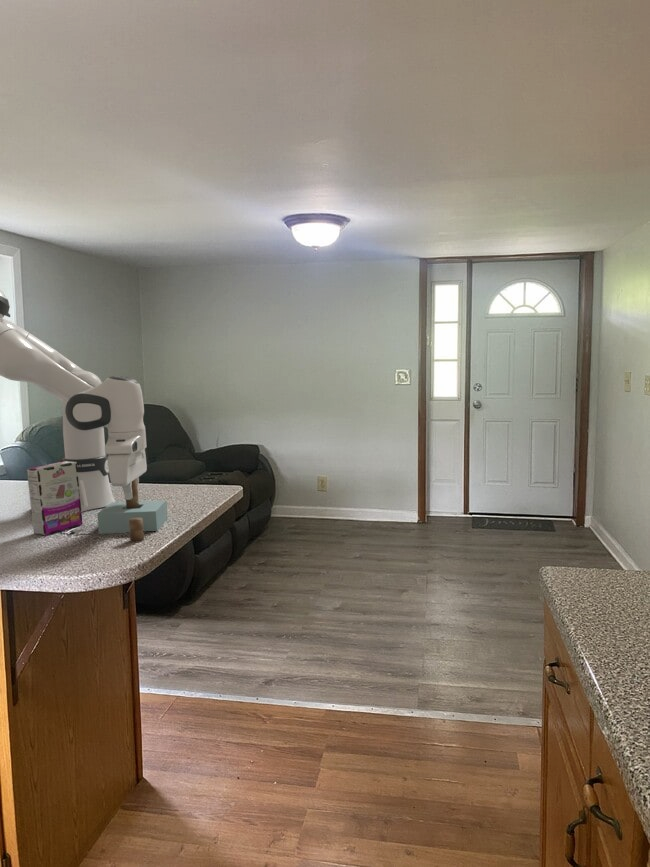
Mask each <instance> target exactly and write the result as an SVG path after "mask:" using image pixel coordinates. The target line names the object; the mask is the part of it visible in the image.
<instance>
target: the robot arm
mask: <svg viewBox="0 0 650 867" xmlns="http://www.w3.org/2000/svg"><path fill="white" fill-rule="evenodd" d="M10 307H11V306H10V302H9V299H8V298H7V297H6V295H5V294H4V292H2V291H1V290H0V376H1V377H2V378H5V379H8V380H10V381H15V382H22V383H23V382H25V383H31V384H34V385H35V386H37V387H38V388H40V389H42V390H43V391H45V392H47V394H49V395H51V396H53V397H54V398H56V399H57V400H59V401H61V403H62V404H61V405H62V406H61V408H62V436H63V446H64V448H63V449H64V457H63V458H62V459H61V460H58V462H57V463H60V462H65V461H68V462H69V461H70V462H77V472H78V481H79V493H80V502H81V512H85V511H90V510H94V509H100V508H105V507H107V506H108V505H109V504H111V503H112V502H116V500H115V498H114V494H113V492H112V487H111V485H112V486H113V487H121V488H122V491H123V494H124V496H123V497H124V499H125V501H126V500H131V499H132V498H133V491H132V487H131V486H132V481H133V480H135V479H136V478H137V486H138V487H139V484H140V483H139V482H140V478H139V477H141V476H142V475H144V474H145V473H146V472H147V469H148V468H147V467H148V464H147V456H146V448H147V434H146V425H145V423H144V415H145V405H144V396H143V391H142V387H141V385H140V382H139V381H138V380H136V379H135V378H132V377H128V376H117V375H115V376H114V375H113V376H108V377H107V378H106V379H105V380H104V381H103V382H102V380H101V378H100V377H99V376H98V375H97V374H95V373H93V372H92V371H88V370H84V369H83V368H81V367H80V366H78V365H77V364H75V363H74V362H72V361H71V360H70V359H68V358H67V357H66V356H64V355H63V354H61V353H60V352H59V351H57V350H56V349H55V348H53V347H52V346H50V345H49V344H47V343H46V342H45V341H43V340H42V339H39V338H38V337H36V336H35V335H34V334H32V333H30V332H29V331H27V330H26V329H24V328H22V327H21V326H19V325H17V324H15V323H14V322H12V321H9V320H8V319H5V318H4V317H8V318H11V314H10ZM105 428H107V434H108V435H107V436H108V437H107V442H106V441H105Z"/></svg>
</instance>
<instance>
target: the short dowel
mask: <svg viewBox="0 0 650 867" xmlns="http://www.w3.org/2000/svg"><path fill="white" fill-rule="evenodd" d="M129 526H130V533H129V538H130V539H129V540H130V542H131V541H132V542H131V543H137V542H136V541H140V542H143V541H144V540H145V536H144V535H145V534H144V533H145V532H143V518H140V517H137V518H131V519H129ZM142 540H143V541H142Z"/></svg>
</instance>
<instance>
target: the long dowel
mask: <svg viewBox="0 0 650 867" xmlns="http://www.w3.org/2000/svg"><path fill="white" fill-rule="evenodd" d="M131 487H132V491H133V498H132V499H131V500H126V499H125V502H126V509H137V508H139V501H140V500H139V485H138V486H137V478H136V479H135V480H133V481H132V486H131Z"/></svg>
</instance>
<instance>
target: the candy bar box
mask: <svg viewBox="0 0 650 867" xmlns="http://www.w3.org/2000/svg"><path fill="white" fill-rule="evenodd" d="M26 473H27V483H28V491H29V492H28V494H29V498H30V500H29V502H30V509H31V510H30V511H31V520H32V521H31V522H32V529H33V534H35V535H41V536H49V535H52V534H56V533H59V532H63V531H65V530H69V529H72V528H75V527H79V526H83V524H84V522H83V514H82V512H83V511H82V512H81V502H80V493H79V481H78V472H77V462H70V461H69V462H68V461H65V462H60V463H58V462H55V463H50V464H49V463H48V464H45V465H39V466H35V467H29V468H27V469H26Z"/></svg>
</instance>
